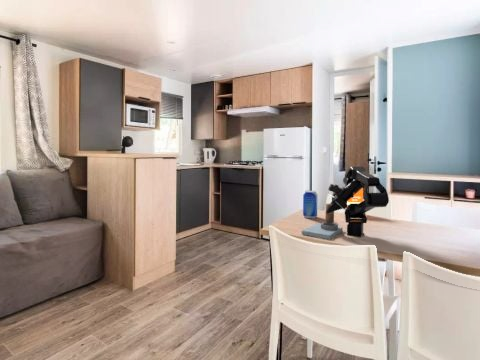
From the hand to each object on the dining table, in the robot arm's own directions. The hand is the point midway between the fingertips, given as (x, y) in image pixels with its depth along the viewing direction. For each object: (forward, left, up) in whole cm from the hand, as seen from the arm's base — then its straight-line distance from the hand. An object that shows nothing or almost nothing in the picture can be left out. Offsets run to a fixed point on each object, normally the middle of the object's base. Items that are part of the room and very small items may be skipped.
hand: (326, 211), depth 150 cm
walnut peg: (-1, -1, -5) cm, 5 cm away
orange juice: (+2, -49, -11) cm, 50 cm away
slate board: (+1, +3, -10) cm, 11 cm away
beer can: (+21, -26, -10) cm, 35 cm away
